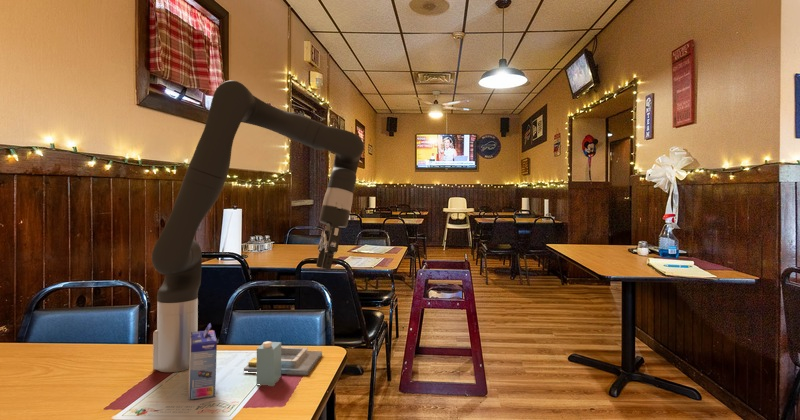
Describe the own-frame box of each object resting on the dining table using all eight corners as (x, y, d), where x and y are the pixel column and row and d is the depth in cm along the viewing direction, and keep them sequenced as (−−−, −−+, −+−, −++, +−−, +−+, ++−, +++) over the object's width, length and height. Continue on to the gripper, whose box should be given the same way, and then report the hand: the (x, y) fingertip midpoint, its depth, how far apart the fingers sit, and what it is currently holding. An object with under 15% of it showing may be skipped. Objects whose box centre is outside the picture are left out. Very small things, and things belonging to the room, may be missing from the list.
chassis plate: (243, 373, 103) (243, 362, 103) (266, 353, 117) (266, 344, 117) (307, 375, 102) (307, 364, 102) (322, 355, 116) (322, 345, 116)
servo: (256, 385, 96) (256, 344, 96) (265, 376, 101) (265, 337, 101) (273, 386, 96) (273, 344, 96) (281, 377, 101) (281, 338, 101)
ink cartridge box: (217, 396, 90) (217, 329, 90) (188, 401, 88) (189, 333, 88) (214, 379, 99) (214, 319, 99) (188, 384, 96) (188, 321, 96)
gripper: (318, 206, 116) (304, 264, 113) (327, 201, 102) (313, 266, 100) (344, 213, 118) (331, 269, 115) (356, 208, 105) (343, 272, 102)
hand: (323, 268), depth 108 cm, fingers open, 8 cm apart
